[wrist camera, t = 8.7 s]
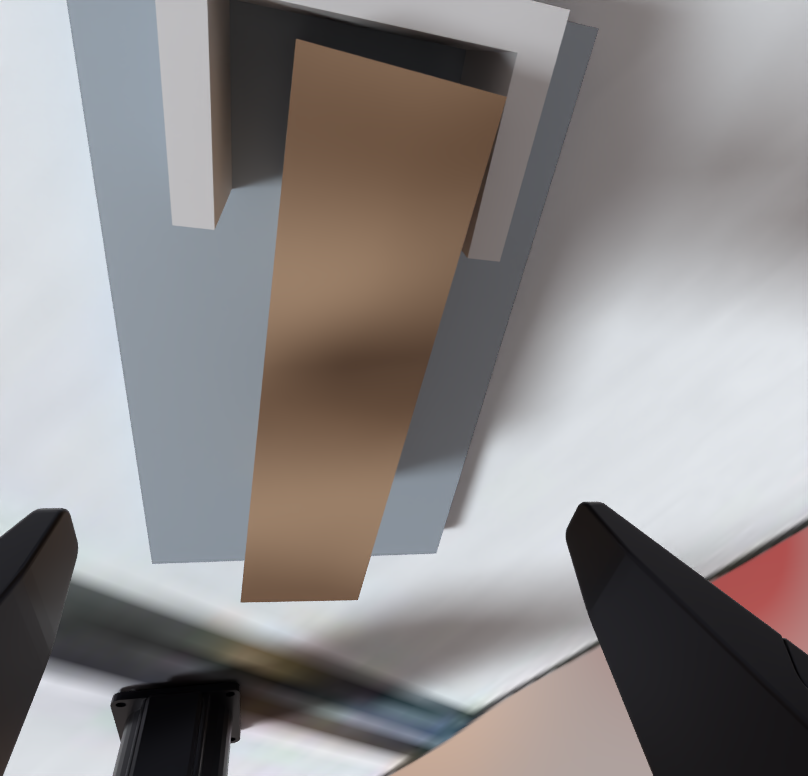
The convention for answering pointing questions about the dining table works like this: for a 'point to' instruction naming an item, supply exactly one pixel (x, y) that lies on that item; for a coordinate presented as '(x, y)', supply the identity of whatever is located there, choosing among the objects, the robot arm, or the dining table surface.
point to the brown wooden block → (354, 306)
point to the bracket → (258, 218)
